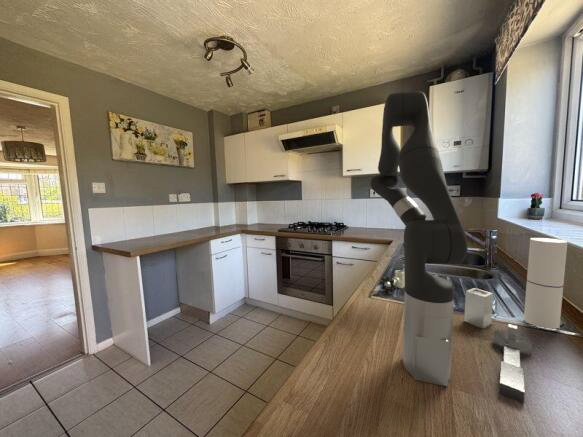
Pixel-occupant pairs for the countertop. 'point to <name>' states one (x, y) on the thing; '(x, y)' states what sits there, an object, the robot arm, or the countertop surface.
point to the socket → (478, 307)
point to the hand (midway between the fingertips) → (438, 249)
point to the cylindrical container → (545, 282)
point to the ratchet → (512, 361)
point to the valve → (394, 281)
